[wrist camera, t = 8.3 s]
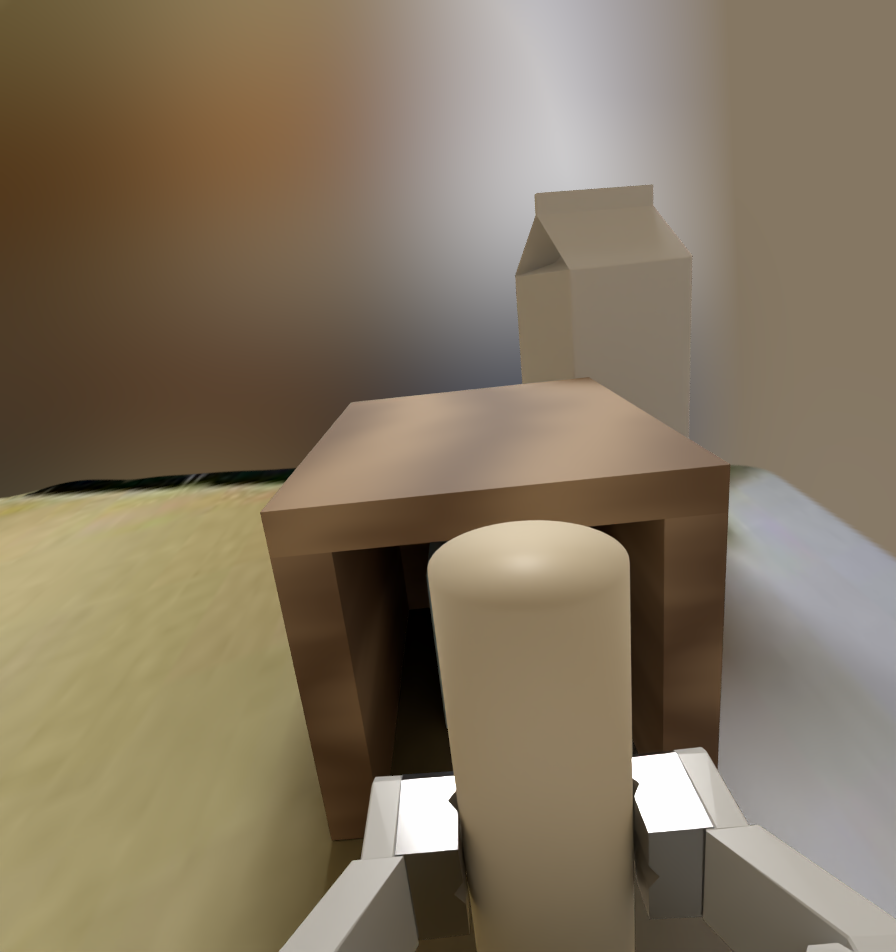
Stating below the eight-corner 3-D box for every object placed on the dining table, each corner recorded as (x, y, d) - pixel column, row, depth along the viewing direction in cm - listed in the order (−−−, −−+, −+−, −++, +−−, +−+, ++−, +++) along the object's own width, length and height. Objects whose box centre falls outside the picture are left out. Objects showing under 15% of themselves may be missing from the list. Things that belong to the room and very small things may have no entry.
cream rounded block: (434, 1167, 10) (330, 628, 7) (448, 645, 26) (417, 395, 22) (720, 1155, 10) (754, 592, 7) (563, 636, 25) (549, 382, 22)
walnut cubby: (331, 840, 17) (260, 512, 14) (381, 597, 30) (351, 402, 27) (716, 807, 17) (730, 464, 14) (595, 576, 30) (588, 377, 27)
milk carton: (688, 521, 35) (695, 170, 29) (581, 547, 33) (566, 179, 28) (622, 488, 42) (617, 196, 36) (530, 508, 40) (509, 204, 34)
